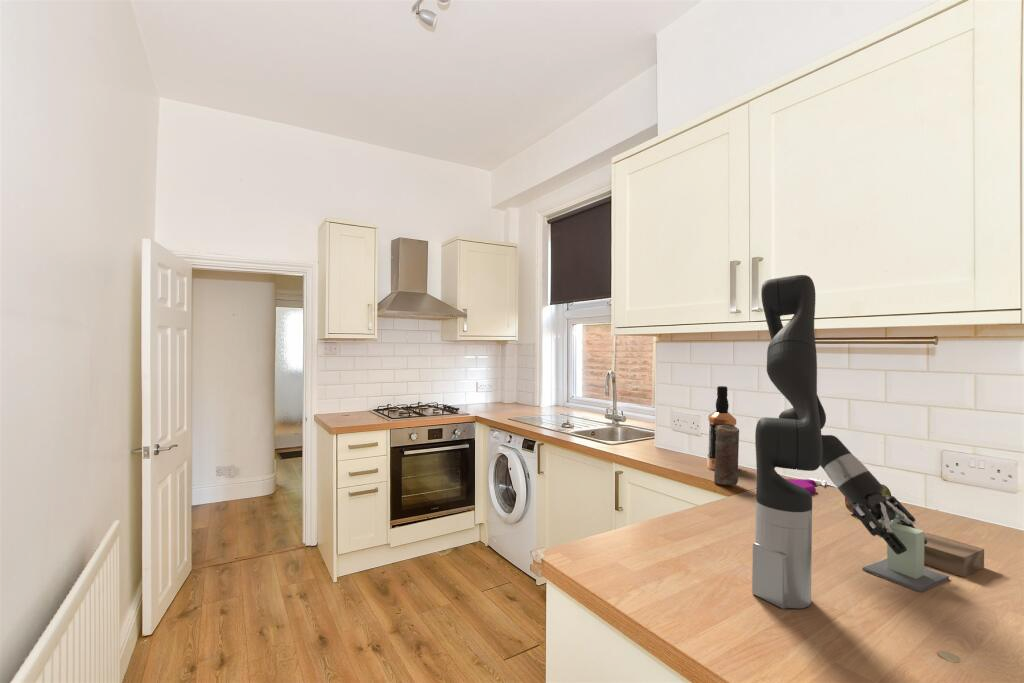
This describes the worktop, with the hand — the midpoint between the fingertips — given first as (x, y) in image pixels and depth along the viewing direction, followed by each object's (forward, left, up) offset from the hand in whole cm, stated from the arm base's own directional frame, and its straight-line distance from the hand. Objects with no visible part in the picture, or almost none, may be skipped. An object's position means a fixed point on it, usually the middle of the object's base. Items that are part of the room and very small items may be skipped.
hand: (913, 548), depth 98 cm
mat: (0, +1, -6) cm, 6 cm away
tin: (+36, +25, -6) cm, 44 cm away
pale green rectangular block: (0, +1, -5) cm, 5 cm away
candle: (+23, +62, -6) cm, 67 cm away
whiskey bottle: (+42, +79, -6) cm, 90 cm away
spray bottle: (+44, +49, -7) cm, 66 cm away
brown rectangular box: (+15, 0, -6) cm, 16 cm away
